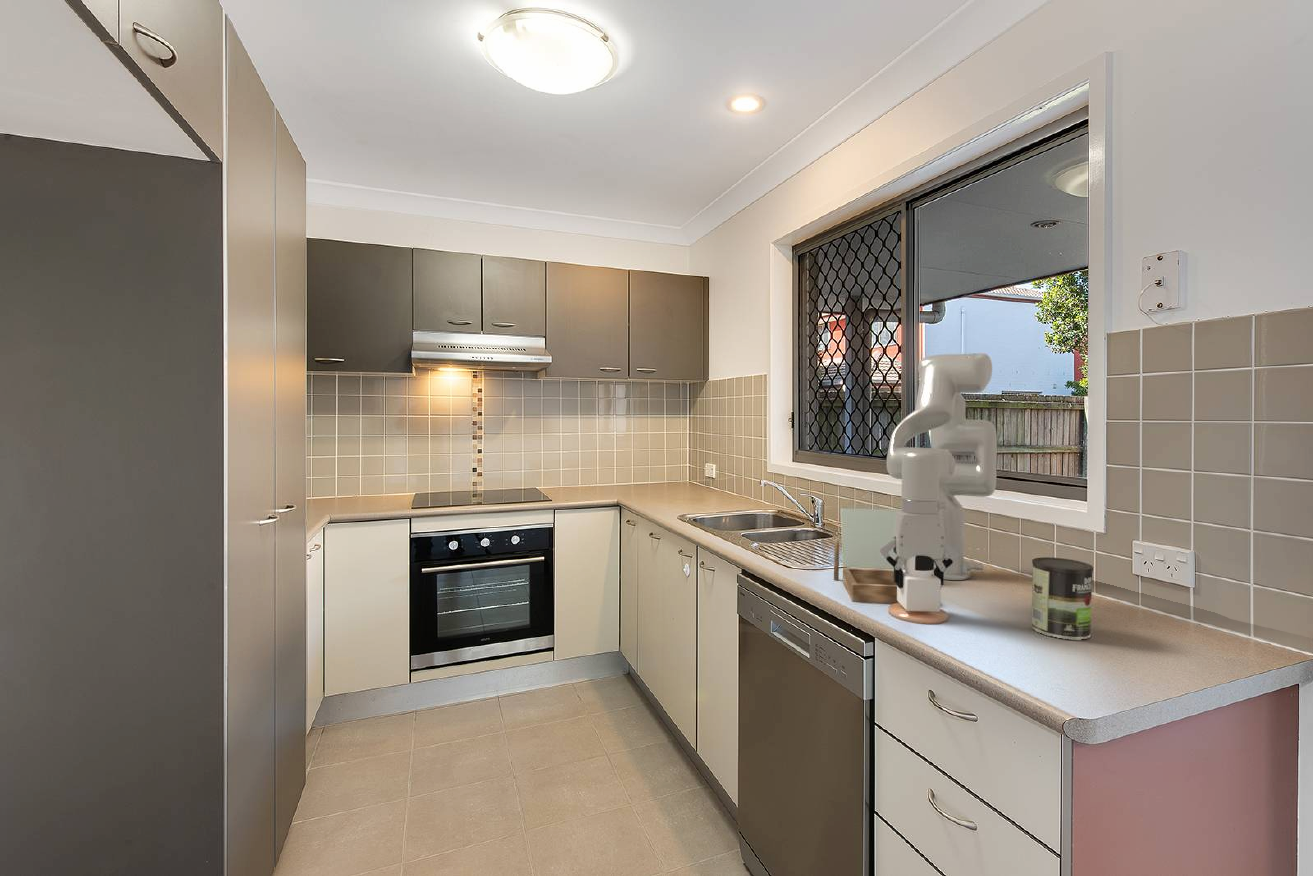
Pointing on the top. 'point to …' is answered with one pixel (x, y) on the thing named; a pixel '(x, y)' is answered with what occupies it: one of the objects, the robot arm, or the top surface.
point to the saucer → (917, 615)
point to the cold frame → (870, 585)
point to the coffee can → (1061, 598)
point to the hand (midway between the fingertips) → (918, 586)
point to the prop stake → (836, 559)
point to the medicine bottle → (920, 585)
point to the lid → (867, 537)
